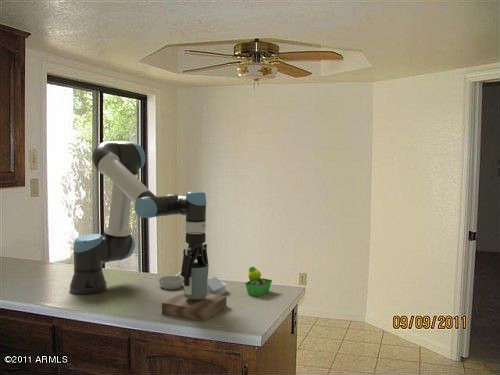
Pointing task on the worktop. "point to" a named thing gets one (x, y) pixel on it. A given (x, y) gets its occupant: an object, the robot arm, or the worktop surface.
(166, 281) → the small pan
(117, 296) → the worktop surface
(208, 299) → the walnut stand
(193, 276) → the grey cup
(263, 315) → the worktop surface
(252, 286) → the fruit basket
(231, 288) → the worktop surface
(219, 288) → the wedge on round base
